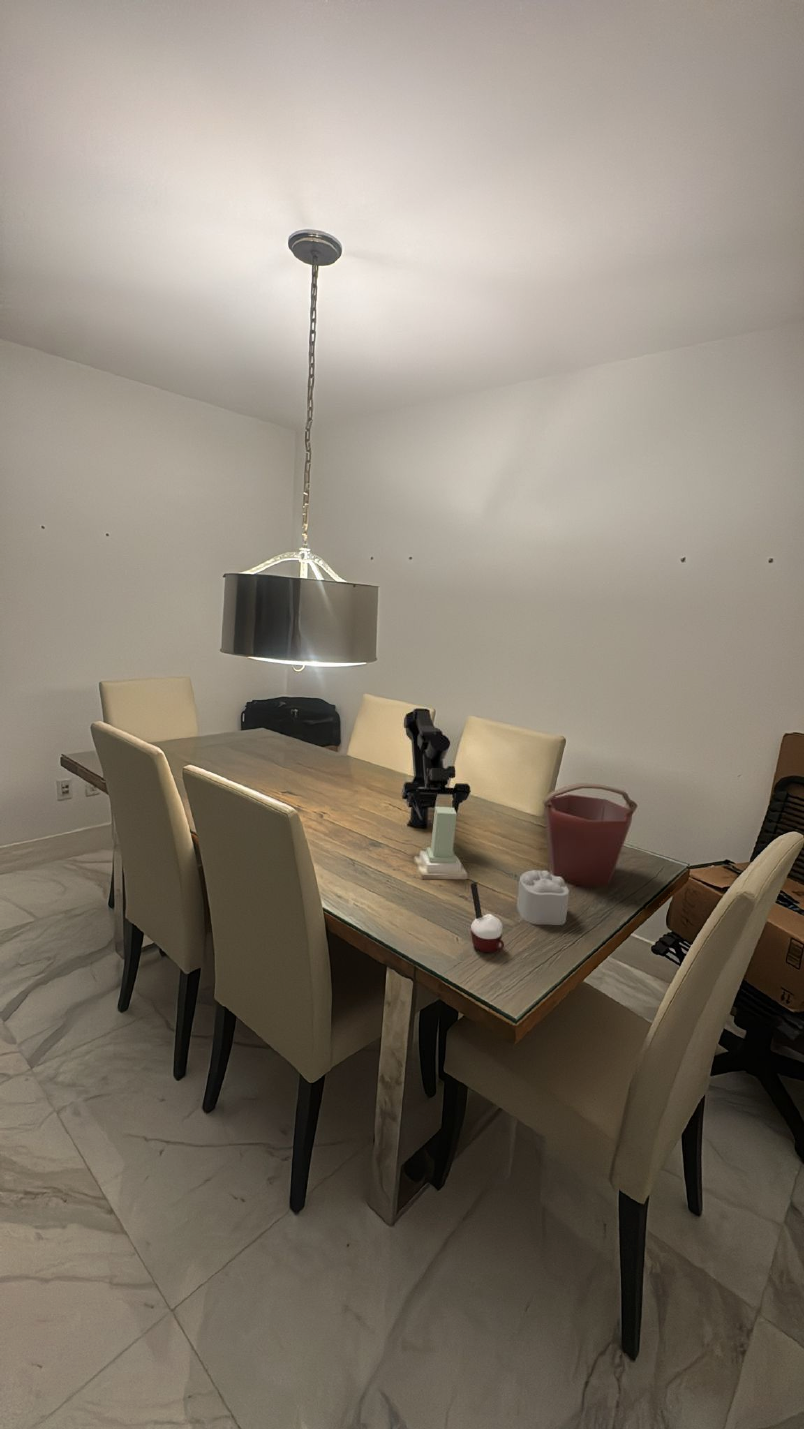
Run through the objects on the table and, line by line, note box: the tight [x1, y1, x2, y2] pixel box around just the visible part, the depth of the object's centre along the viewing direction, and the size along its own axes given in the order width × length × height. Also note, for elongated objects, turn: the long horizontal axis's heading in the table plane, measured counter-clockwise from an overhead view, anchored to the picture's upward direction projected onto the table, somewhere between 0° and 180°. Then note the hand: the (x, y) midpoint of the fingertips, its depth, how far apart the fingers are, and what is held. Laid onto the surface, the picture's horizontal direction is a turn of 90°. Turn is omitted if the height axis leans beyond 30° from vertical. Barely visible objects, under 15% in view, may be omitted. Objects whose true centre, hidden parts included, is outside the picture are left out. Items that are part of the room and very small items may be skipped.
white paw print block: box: [516, 869, 570, 926], centre depth 141 cm, size 10×13×9 cm
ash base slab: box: [413, 855, 469, 880], centre depth 160 cm, size 12×12×2 cm
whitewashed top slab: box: [419, 850, 462, 872], centre depth 160 cm, size 9×9×2 cm
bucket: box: [542, 782, 638, 888], centre depth 161 cm, size 24×22×25 cm
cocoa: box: [470, 881, 505, 953], centre depth 123 cm, size 10×6×12 cm, turn 18°
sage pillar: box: [425, 806, 458, 863], centre depth 159 cm, size 7×7×13 cm
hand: (438, 819), depth 165 cm, fingers open, 9 cm apart
